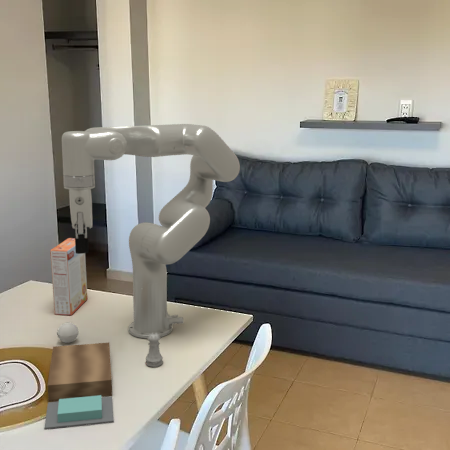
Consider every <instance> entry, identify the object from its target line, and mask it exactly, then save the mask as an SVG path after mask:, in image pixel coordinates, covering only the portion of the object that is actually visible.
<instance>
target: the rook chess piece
mask: <svg viewBox="0 0 450 450" xmlns="http://www.w3.org/2000/svg"><path fill="white" fill-rule="evenodd" d="M146 339H147V340H148V345H149V346H148V353H147V355H146V358H145V362H144V363H145V364H146V366H147V367H150V368H158V367H160V366H161V365H163V363H164V362H163V358H164V357H163V356H162V354H161V351H160V344H161V343H160V340H161V337H160V336H159V334H157V333H155V334H154V333H152V335H151V334H149V337H148V338H146Z"/></svg>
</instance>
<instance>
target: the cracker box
mask: <svg viewBox="0 0 450 450" xmlns="http://www.w3.org/2000/svg"><path fill="white" fill-rule="evenodd" d="M49 253H50V266H51V268H50V269H51V279H52V281H51V282H52V294H53V295H52V296H53V297H52V299H53V305H54V306H53V307H54V309H53V310H54V315H56V316H57V315H58V316H59V315H60V316H61V315H62V316H73V315H74V313H75V312H77V310H79V309H80V308H81V306H83V304H84V303H85V302H86V301H87V300H88V285H87V284H88V283H87V267H86V266H87V264H86V263H87V262H86V253H82V254H76V249H75V237H74V238H73V237H68V238H66V239H65V240H63V241H62V242H60V243H59V244H57V245H56V246H54V247H53V248H51V249H50V251H49Z"/></svg>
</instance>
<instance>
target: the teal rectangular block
mask: <svg viewBox="0 0 450 450" xmlns="http://www.w3.org/2000/svg"><path fill="white" fill-rule="evenodd" d="M99 418H102V401H101V395H98V396H88V397H77V398H66V399H59V405H58V423H59V422H69V421H79V420H89V419H99Z"/></svg>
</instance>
